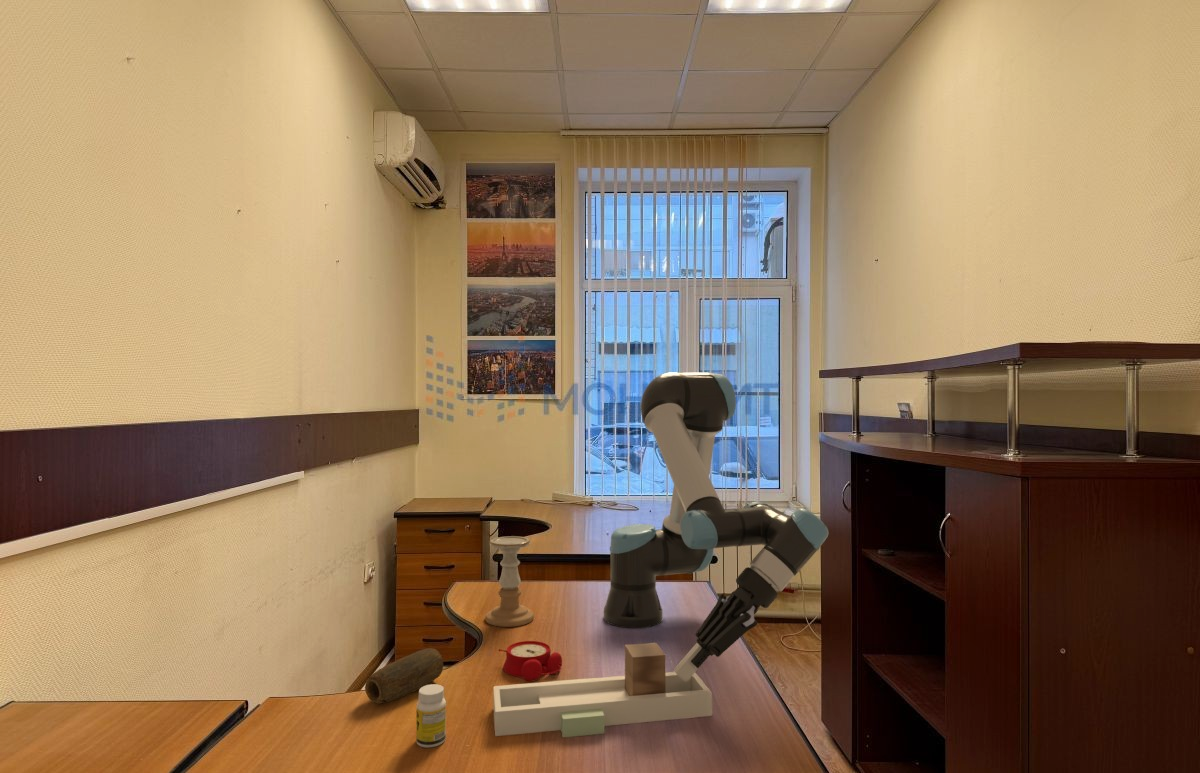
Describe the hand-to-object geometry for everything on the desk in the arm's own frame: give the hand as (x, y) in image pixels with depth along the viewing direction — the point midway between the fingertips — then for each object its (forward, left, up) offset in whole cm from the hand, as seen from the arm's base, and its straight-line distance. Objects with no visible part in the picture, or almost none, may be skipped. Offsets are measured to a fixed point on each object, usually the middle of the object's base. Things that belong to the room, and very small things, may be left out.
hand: (679, 676), depth 119 cm
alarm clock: (+14, -30, -6) cm, 33 cm away
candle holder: (+3, -61, -6) cm, 61 cm away
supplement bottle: (+42, -15, -6) cm, 44 cm away
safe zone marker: (+17, -8, -5) cm, 20 cm away
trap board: (+13, -6, -5) cm, 15 cm away
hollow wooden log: (+39, -35, -6) cm, 53 cm away
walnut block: (+6, -3, -3) cm, 7 cm away
